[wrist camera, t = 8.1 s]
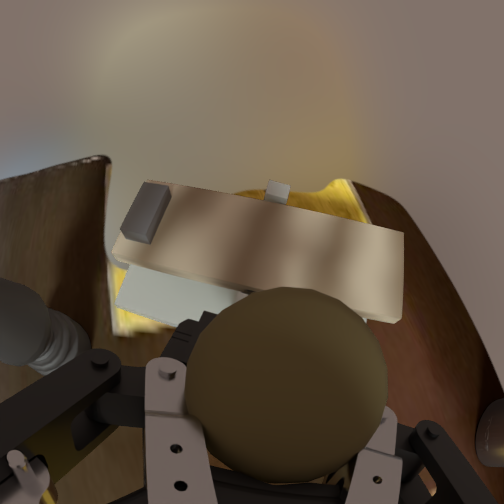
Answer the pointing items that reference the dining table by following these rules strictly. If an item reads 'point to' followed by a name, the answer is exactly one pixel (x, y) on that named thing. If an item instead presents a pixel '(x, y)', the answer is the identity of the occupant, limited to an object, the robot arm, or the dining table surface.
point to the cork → (287, 385)
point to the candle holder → (36, 331)
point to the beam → (263, 247)
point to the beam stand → (181, 287)
